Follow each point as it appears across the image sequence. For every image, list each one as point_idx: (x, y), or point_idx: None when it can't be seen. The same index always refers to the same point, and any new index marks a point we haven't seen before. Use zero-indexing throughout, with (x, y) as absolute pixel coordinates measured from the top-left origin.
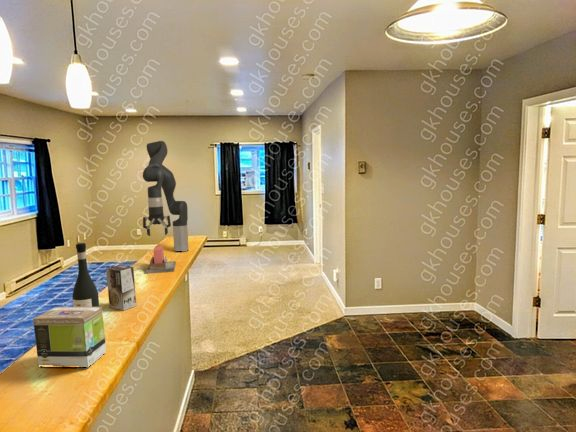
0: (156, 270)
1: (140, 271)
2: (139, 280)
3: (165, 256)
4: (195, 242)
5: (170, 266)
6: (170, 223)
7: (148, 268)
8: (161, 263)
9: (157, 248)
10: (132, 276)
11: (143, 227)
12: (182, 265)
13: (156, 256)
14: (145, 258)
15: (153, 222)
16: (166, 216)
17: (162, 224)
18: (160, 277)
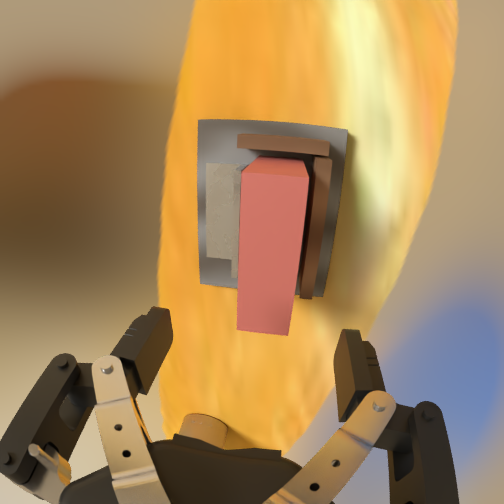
0: (291, 123)
1: (372, 193)
2: (365, 21)
3: (237, 275)
4: None
5: (215, 163)
6: (61, 405)
7: (335, 181)
8: (258, 137)
9: (275, 248)
10: None
11: (435, 410)
12: (169, 231)
13: (287, 167)
14: (326, 396)
15: (280, 484)
16: (33, 489)
17: (126, 406)
18: (267, 29)
